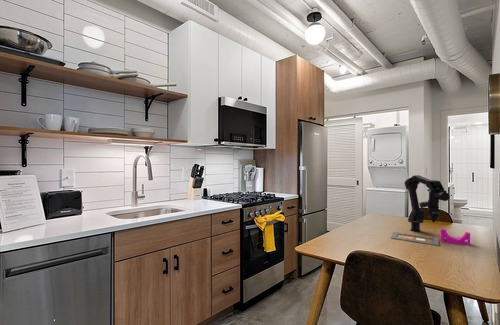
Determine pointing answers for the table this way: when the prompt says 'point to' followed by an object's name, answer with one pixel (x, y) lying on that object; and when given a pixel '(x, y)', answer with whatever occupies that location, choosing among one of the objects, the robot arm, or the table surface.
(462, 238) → the toy block
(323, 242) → the table surface
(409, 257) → the table surface
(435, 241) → the frame
